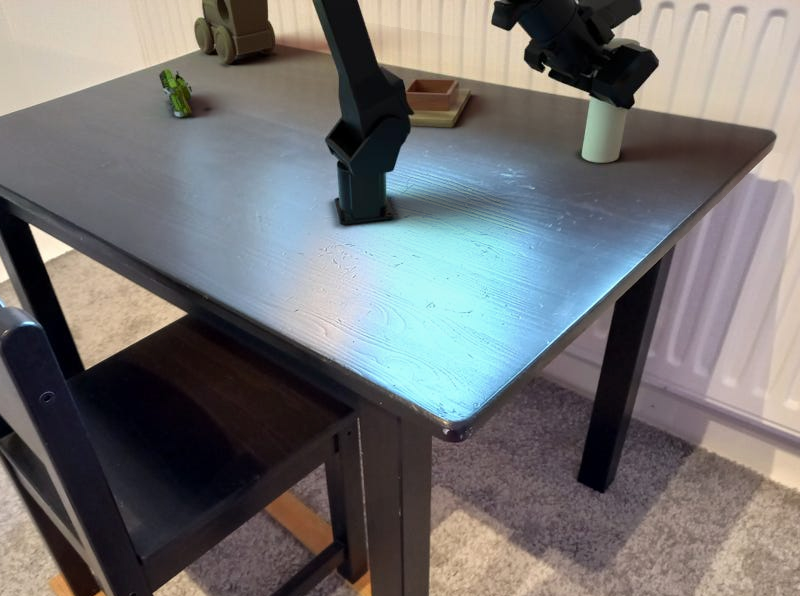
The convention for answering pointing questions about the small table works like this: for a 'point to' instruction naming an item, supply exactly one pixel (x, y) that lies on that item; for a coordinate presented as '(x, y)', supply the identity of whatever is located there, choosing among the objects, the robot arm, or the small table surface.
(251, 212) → the small table surface
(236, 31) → the wooden toy train
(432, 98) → the base pad
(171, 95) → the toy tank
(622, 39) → the post
